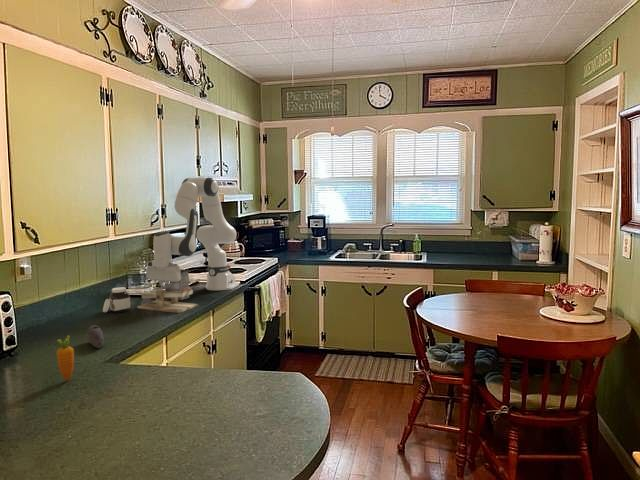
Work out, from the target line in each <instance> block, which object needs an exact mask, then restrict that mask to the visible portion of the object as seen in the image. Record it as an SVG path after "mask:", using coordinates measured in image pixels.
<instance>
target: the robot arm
mask: <svg viewBox="0 0 640 480" xmlns="http://www.w3.org/2000/svg"><path fill="white" fill-rule="evenodd" d="M198 198H200V199H201V206H202V211H203V212H202V213H203V217H204V219H205V220H206V221H208V222H210V224H211V225H207V224H206V225H202V226H199V225H198V224H199V223H198V222H199V213H198V210H197V209H196V208H197V207H196V206H197V201H198ZM173 207H174V210H175V212H176V213H177V214H178V215H179V216H181V217H182V218H185V220H186V229H185V235H184V236H175V235H172V234H171V233H170V232H169V231H167V230H166V231H165V230H163V231H157V232H156V233H154V235H153V240H152V241H153V242H152V243H153V252H154V254H153V255H154V256H153V260H150V261H147V262H146V263H145V264H146V272H145V273H146V278H147V280H148V281H149V280H150V281H158V283H159V285H160V290H165V284H168V283H170V281H172V282H178V281H180V280H181V273H180V269H181V268H180V266H179V265H178V263H173V259H172V255H175V256H176V255H177V256H184V257H191V256H192V255H193V254H194V253H195V252H196V250H197V240H198V241H199V242H200V243H201V244H202V245H203V247H204V248H205V249H204V250H206V253H207V262H208V263H207V264H208V266H207V275H206V285H205V289H206V290H208V291H225V290H226V291H228V290H233V289H234V288H236V287H238V286H240V285H239V284H240V282H237V283H236V280H237V279H236V276H235V274H233V273H232V272H231V271H230V269H231V265H230V264H228V263H227V261H228V260H227V259H228V258H227V252H226V251H225V250H224V249H222V248H221V247H220V245H219V244H231V243H232V244H233V243H234V242H235V241H236V238H237V231H236V228H235V227H233V226H232V225H231V224H229V223H228V221H227V220H226V218H225V216H224V213H223V208H222V203H221V197H220V194H219V183H218V181H217V180H216V179H215V178H213V177H210V176H208V177H205V176H197V177H188V178H184V179H183V181H182V182H181V185H180V188H179V189H178V191H177V194H176V198H175V201H174V206H173ZM198 226H199V227H198Z"/></svg>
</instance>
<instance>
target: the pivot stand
mask: <svg viewBox="0 0 640 480" xmlns="http://www.w3.org/2000/svg"><path fill="white" fill-rule="evenodd" d="M156 290H157V291H156V301H153V302H145V303H144V304H141V305H137V306H136V307H137V309H140V310H148V311H157V312H165V313H166V312H167V313H168V312H169V313H177V314H180V313H184V312H185V311H189V310H191V309H194V308H196V307H198V306H199V305H198V303H190V302H181V301H179V299H178V297H171V298H170V300H165V299H164V296H163V290H164V289H156Z"/></svg>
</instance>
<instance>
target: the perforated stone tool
mask: <svg viewBox="0 0 640 480" xmlns="http://www.w3.org/2000/svg"><path fill="white" fill-rule="evenodd" d="M86 336H87V340H88V342H89V343H90V344H91V346H93V347H94V348H96V349H101V348H102V347H103V346H104V344H105V338H104V337H105V336H104V333H103V331H102V330H101V328H100V326H98V325H96V324H92V325H90V326H88V328H87V331H86Z"/></svg>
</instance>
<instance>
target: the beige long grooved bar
mask: <svg viewBox="0 0 640 480" xmlns="http://www.w3.org/2000/svg"><path fill="white" fill-rule="evenodd" d="M157 290H158V289H152V290H151V289H150V290H149V292H148V291H144V292H142V294H141V298H142V302H143V303H144V304H145V303H150V302H153V301H156V291H157ZM162 290H163V296H164V298H167V299H168V298H170V297H184V296H187V295H189V296H190V295H193V294H194V290H193V289H192V288H191V287H190V286H189V287H186V288H183V289H180V291H168V292H166V291H165V289H162Z"/></svg>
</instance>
